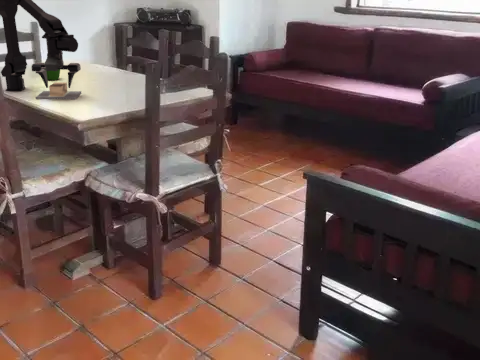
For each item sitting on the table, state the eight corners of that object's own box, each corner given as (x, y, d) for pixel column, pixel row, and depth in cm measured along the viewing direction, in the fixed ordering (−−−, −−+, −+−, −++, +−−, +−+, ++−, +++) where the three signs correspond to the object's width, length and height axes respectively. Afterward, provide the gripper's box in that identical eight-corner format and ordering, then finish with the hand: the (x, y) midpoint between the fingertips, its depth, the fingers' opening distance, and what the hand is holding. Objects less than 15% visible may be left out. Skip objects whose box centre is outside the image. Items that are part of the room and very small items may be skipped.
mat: (35, 98, 225) (35, 96, 225) (43, 92, 236) (43, 90, 236) (75, 99, 226) (74, 97, 226) (81, 93, 237) (81, 91, 237)
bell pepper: (49, 82, 258) (46, 60, 255) (40, 79, 264) (38, 58, 260) (65, 79, 264) (63, 59, 261) (56, 77, 269) (54, 56, 266)
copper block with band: (55, 91, 235) (54, 81, 233) (67, 91, 235) (66, 81, 234) (50, 96, 227) (49, 86, 225) (62, 96, 227) (61, 86, 225)
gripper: (25, 52, 216) (29, 91, 222) (73, 53, 217) (76, 92, 223) (33, 48, 227) (37, 86, 232) (79, 49, 228) (82, 86, 233)
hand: (58, 87), depth 230 cm, fingers open, 9 cm apart
